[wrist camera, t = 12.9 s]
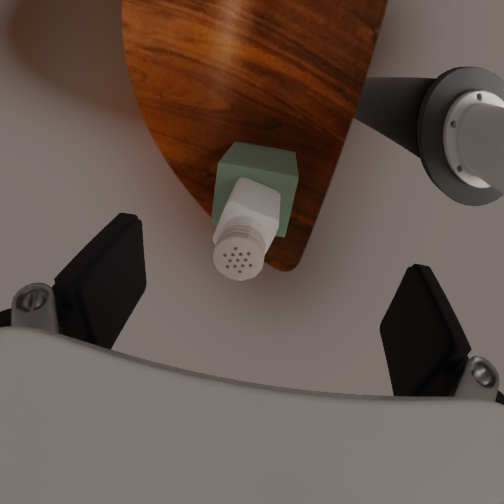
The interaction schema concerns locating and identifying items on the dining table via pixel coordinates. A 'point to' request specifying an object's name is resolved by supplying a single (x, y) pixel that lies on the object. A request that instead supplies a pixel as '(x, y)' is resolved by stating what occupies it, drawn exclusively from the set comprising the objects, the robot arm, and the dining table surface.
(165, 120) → the dining table surface
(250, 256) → the salt shaker
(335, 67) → the dining table surface
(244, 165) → the lidded olive box
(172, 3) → the dining table surface
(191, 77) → the dining table surface
